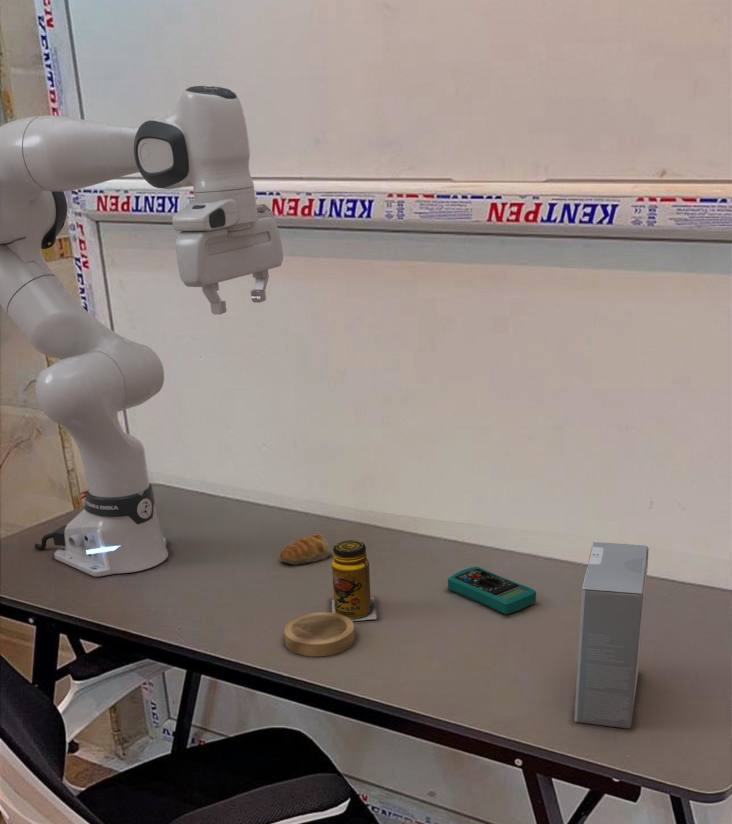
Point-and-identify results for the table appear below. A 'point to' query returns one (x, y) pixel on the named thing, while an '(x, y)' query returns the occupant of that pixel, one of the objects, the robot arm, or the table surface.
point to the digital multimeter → (491, 590)
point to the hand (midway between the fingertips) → (239, 307)
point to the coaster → (319, 634)
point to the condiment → (352, 582)
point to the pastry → (306, 550)
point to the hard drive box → (610, 634)
